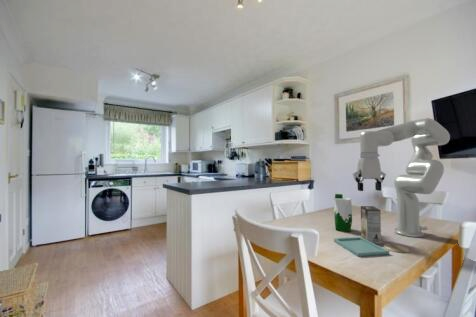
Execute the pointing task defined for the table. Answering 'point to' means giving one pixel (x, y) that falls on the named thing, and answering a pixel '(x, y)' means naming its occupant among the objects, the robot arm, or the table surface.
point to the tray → (361, 246)
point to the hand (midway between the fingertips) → (369, 190)
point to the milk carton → (342, 213)
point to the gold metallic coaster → (396, 248)
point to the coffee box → (371, 224)
